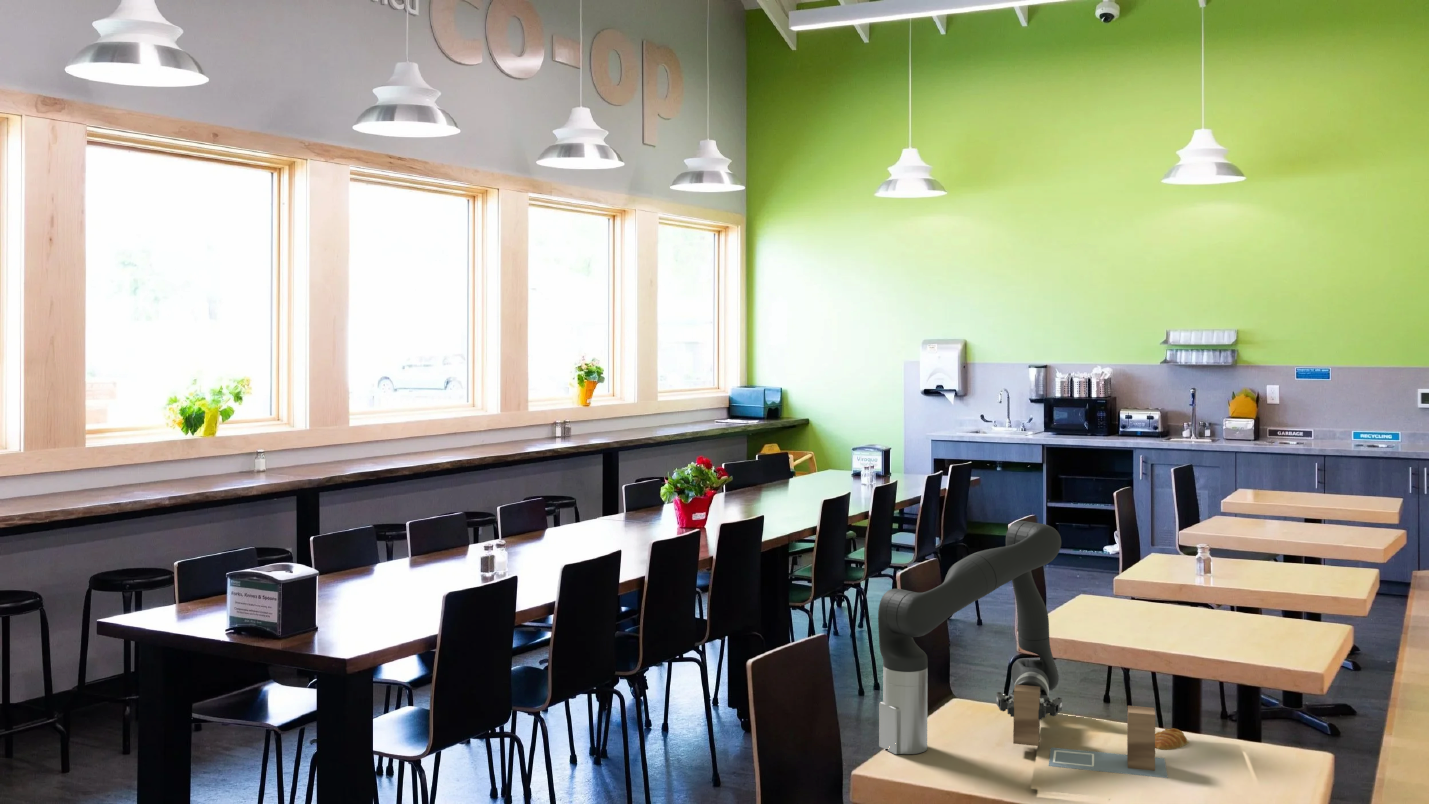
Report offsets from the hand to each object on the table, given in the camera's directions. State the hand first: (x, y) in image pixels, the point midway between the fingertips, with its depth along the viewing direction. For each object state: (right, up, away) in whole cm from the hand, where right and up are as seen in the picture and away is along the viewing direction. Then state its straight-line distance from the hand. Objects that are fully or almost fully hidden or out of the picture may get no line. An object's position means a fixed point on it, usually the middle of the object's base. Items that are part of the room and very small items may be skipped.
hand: (1026, 713), depth 237 cm
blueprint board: (+14, -9, -7) cm, 18 cm away
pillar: (+1, -7, +3) cm, 7 cm away
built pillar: (+20, -8, -9) cm, 24 cm away
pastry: (+31, -9, +5) cm, 33 cm away
